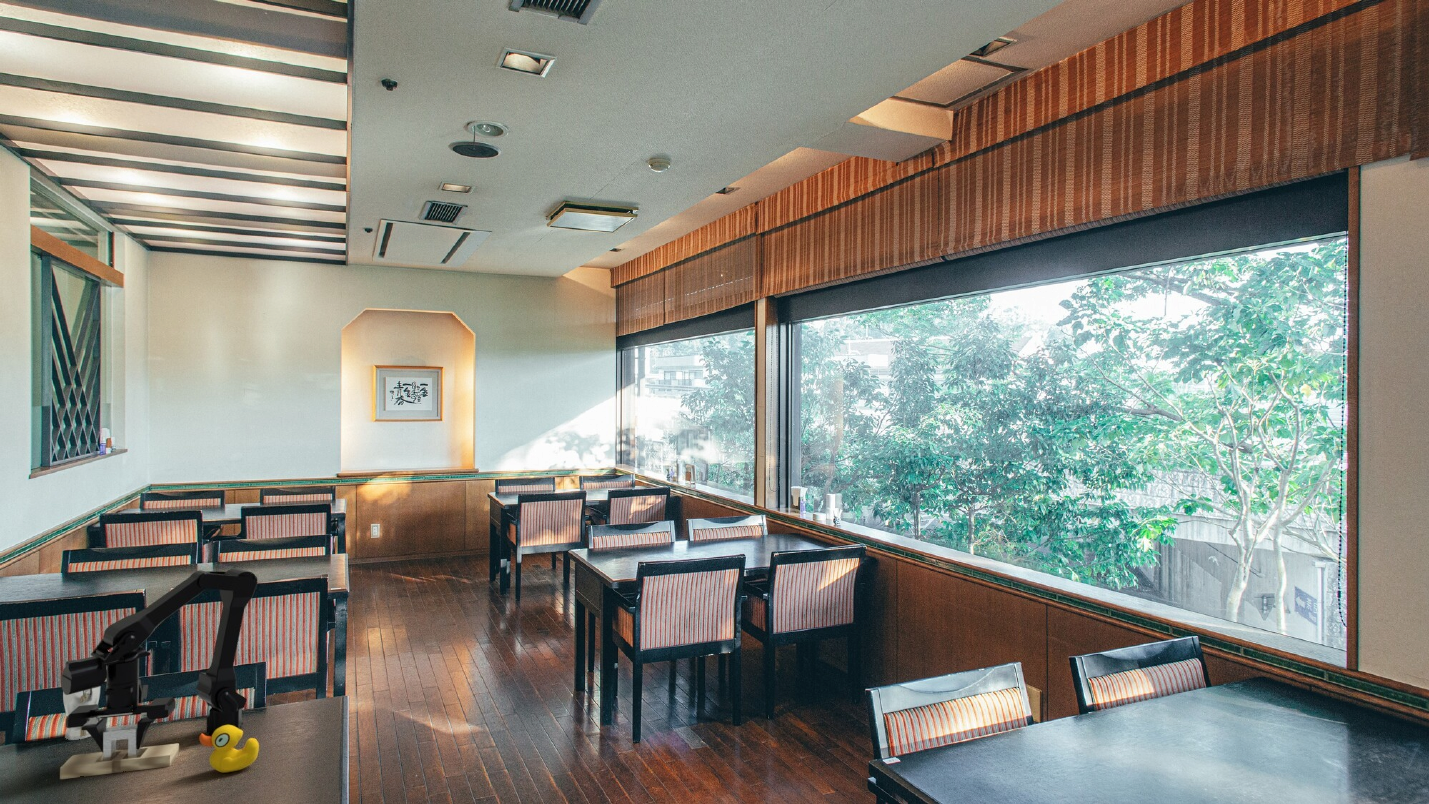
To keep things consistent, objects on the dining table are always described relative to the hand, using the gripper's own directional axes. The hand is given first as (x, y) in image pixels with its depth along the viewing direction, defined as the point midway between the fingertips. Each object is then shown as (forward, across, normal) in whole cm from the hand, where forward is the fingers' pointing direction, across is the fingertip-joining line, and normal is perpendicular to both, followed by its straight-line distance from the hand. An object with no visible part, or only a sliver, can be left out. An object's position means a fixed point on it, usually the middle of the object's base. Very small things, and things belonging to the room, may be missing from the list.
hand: (122, 750), depth 171 cm
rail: (+4, 0, 0) cm, 4 cm away
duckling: (+4, -23, +9) cm, 25 cm away
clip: (+2, 0, 0) cm, 2 cm away
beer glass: (+4, +15, -21) cm, 26 cm away
